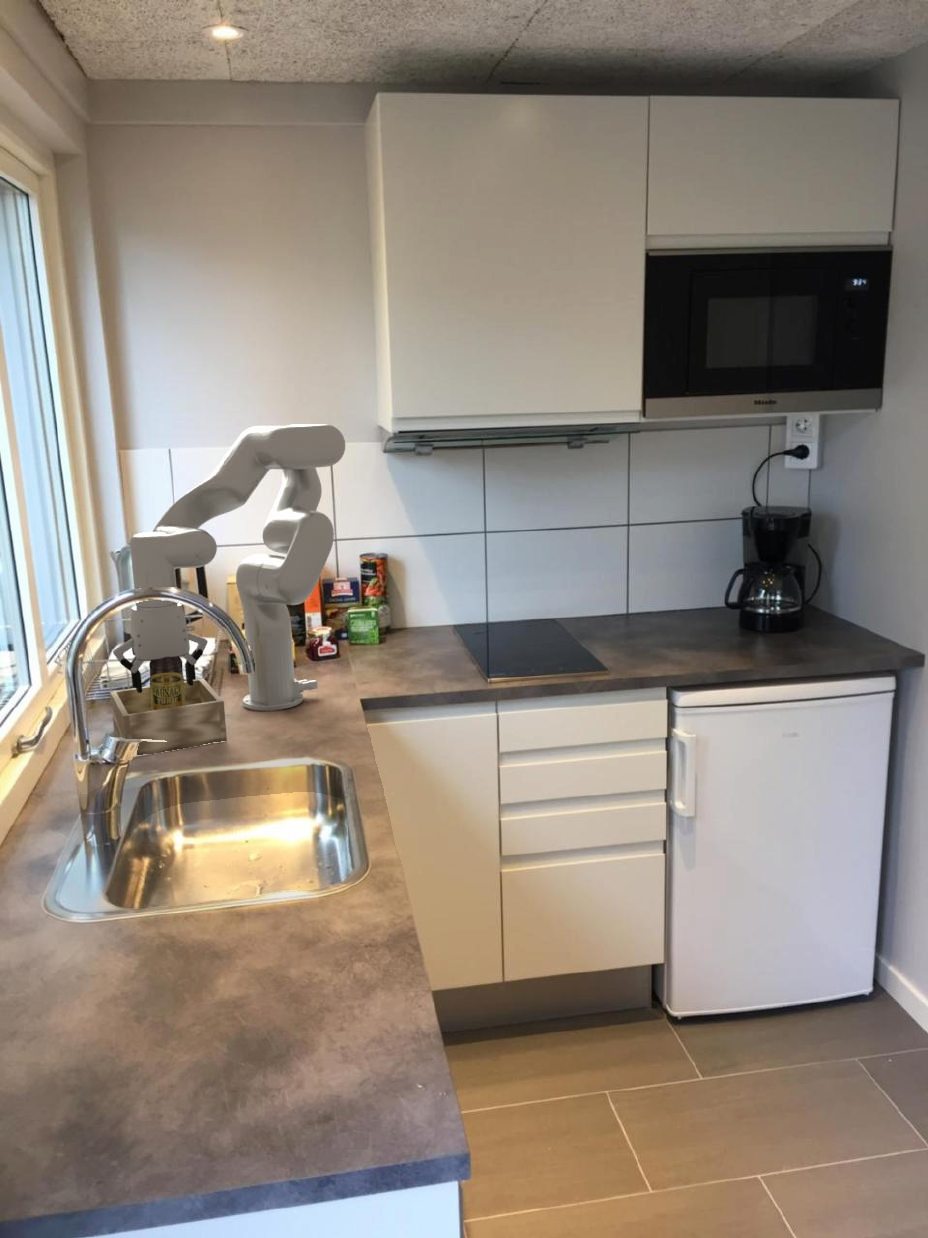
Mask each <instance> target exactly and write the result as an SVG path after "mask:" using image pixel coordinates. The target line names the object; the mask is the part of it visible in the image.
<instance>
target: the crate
mask: <svg viewBox="0 0 928 1238" xmlns="http://www.w3.org/2000/svg"><path fill="white" fill-rule="evenodd" d="M109 694H110V695H109V696H110V704H111V714H112V724H113V730H114V733H115V736H116V737H122V738H125V739H152V740H165V741H167V742H147V741H142V742H140V743H139V746H138V750H137V755H143V754H152V755H155V754H154V753H158V754H162V753H161V752H164V753H166V752H165V751H170V752H173V751H172V750H176V751H178V750H177V749H182V750H184V749H183V748H188V749H190V748H189V747H193V748H195V747H194V746H199V747H201V746H200V745H203V744H208V743H213V742H221V741H227V742H228V739H227V725H226V713H225V711H226V710H225V702H224V699H222V697H221V696H220V695H219V694H218V693H217V692H216V691H215V690H214V689H213V688H212V687H211V685H210V684H209V683H208V682H207V681H206V679H204V678H197V679H196V680H193V685H192V686H190V685H189V684H188V683H187V681H186V680H184V696H185V705H184V706H178V707H171V708H165V709H158V710H152V711H151V694H150V685H148V686H142V692H141V693H138V692H137V690H136V688H133V687H131V688H125V689H120V690H119V689H118V690H112V691H109Z"/></svg>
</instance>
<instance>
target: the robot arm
mask: <svg viewBox="0 0 928 1238" xmlns="http://www.w3.org/2000/svg"><path fill="white" fill-rule="evenodd" d="M345 451H346V440H345V437H344V435H343V433H342V432H341V430H339V428H337V427H336V426H334V425H331V424H327V423H326V424H324V423H322V424H320V423H319V424H318V423H317V424H313V423H311V424H308V423H307V424H302V423H299V424H289V425H258V426H256V425H255V426H251V427H249V428H247V429H245V430H244V431H242V433H241V434H240V435H239V436H238V437H237V438H236V440H235V442H234V443H233V445H231V447H230V448H229V450H228V451H227V452H226V454H225V455H224V456H223V458H222V459H221V461H220V463H219V464H217V466H216V467H215V469H214V470H213V472H211V474H210V475H209V476H208V478H206V479H205V480H203V481H202V482H201V483H199V484H197V485H196V486H195V487H193V488H191V490H189V491H188V492H186V493H185V494H183V496H181V497H179V498H178V499H177V500H176V501H175V502H173V504H172V505H171V506H170V507H169V508H168V509H167V511H166V512H165V513H164V514H163V515H162V517H161V518H160V520H159V521H158V522H157V523H156V525H155V527H154V528H153V530H152V531H149V532H148V531H147V532H141V533H137V534H134V535H133V536H132V537H130V539H129V549H130V560H131V569H132V580H133V589H139V588H146V587H175V588H177V577H176V570H177V569H197V568H202V567H205V566H207V565H208V564H210V563H211V562H212V561H213V559H214V558H215V557H216V555H217V550H218V546H217V542H216V538H214V536H213V535H212V534H211V533H210V532H209V531H207V530H205V529H202V528H200V527H202V526H203V525H204V524H205V523H207V522H209V521H210V520H212V519H214V518H216V517H219V516H222V515H224V514H227V513H230V512H232V511H235V510H237V509H240V508H241V507H242V506H244V505H245V504H246V503H247V502H248V501H249V499H250V497H251V496H252V495H253V493H254V492H255V490H256V489H257V487H258V486H259V485H260V483H261V482H262V480H263V479H264V478H265V476H266V475H267V473H268V472H269V471H271V470H281V473H282V484H281V487H280V489H279V492H278V495H277V497H276V500H275V501H274V504H273V507H272V508H271V510H270V512H269V515H268V518H267V519H266V522H265V524H264V527H263V528H262V529H263V530H262V541H263V543H264V545H265V546H266V548H268V549H269V550H271V551H272V552H275V553H279V554H284V555H286V556H283V555H278V554H276V555H274V554H267V553H256V554H251V555H250V556H248V557H246V558H245V557H244V559H243V560H242V561H240V564H239V565H238V567H237V570H236V575H235V582H236V589H237V592H238V595H239V598H240V604H241V607H242V614H243V622H244V623H243V624H244V637H246V640H247V642H248V644H249V646H250V649H251V651H252V654H253V658H254V663H255V673H254V674H253V675H248V674H247V676H248V678H247V679H248V690H249V694H247V695H245V696H244V697H243V698H242V705H243V707H245V708H246V709H249V710H252V711H261V712H263V711H264V712H266V711H268V712H269V711H279V710H285V709H289V708H293V707H296V706H298V705H300V704H301V703H302V702H303V701H304V694H303V693H304V691H307V690H308V691H311V690H317V689H318V681H317V680H316V679H315V680H308V679H302V680H298V679H296V678H295V670H294V669H295V668H294V667H295V665H294V652H293V651H294V650H293V637H292V635H293V634H292V620H291V615H290V611H289V609H288V606H290V605H291V606H296V605H300V604H302V603H304V602H306V601H307V600H308V599H309V597H310V596H312V593H313V592H314V590H315V587H316V586H317V584H318V582H319V579H320V577H321V574H322V572H323V570H324V568H325V565H326V562H327V560H328V558H329V556H330V553H331V551H332V548H333V544H334V541H335V539H334V537H335V536H334V535H335V533H334V527H333V526H334V525H333V523H332V521H331V519H330V517H328V516H327V515H326V514H325V513H323V512H321V511H318V506H319V503H320V501H321V497H322V493H323V492H322V484H321V483H322V482H321V480H320V477H319V474H318V470H317V468H325V467H326V468H327V467H331V466H334V465H336V464H337V463H339V462H340V461H341V459H342V458H343V457H344V454H345ZM180 603H181V602H179V603H175V602H170V601H161V600H153V601H143V602H139V603H136V602H135V606H132V607H131V612H130V638H129V639H128V640H127V641H125V642H124V643H123V644H121V645H119V646H118V647H116V648H115V649H114V650H113V651H112V653H113V655H114V656H115V657H116V659H117V661H118V662H119V663H120V665H122V666H123V667H124V668H125V669H127V670H128V671H130V675H131V677H130V678H131V687H132V688H136V690H137V692H138V693H141V692H142V687H143V685H142V675H141V671H140V668H141V666H142V665H143V663H144V662H150V661H152V660H159V659H161V658H164V657H180V658H181V657H183V658H184V659H185V663H184V668H185V670H184V671H185V681H187V683H188V684H189V685H190V686H192V685H193V680H196V678H197V677H196V666H195V665H196V664H197V662H198V660H199V659H200V658H201V657H202V656H203V654H204V651H205V649H206V647H207V645H208V640H207V638H204V637H202V636H199V635H196V634H195V633H192V632H189V630H188V626H187V621H186V617H185V612H184V608H183V604H182V603H181V604H180ZM287 605H288V606H287ZM246 640H245V641H246ZM190 641H191V642H194V643H196V644H197V646H196V648H195V649H194V650H193V652H192V653H190V648H191V647H190V646H191V645H190ZM130 649H131V652H132V655H133V656H134V657H133V658H132V660H131V661H130V660H128V659H127V658H126V657H125V656H124V654H125V653H126V652H128V651H129V650H130Z"/></svg>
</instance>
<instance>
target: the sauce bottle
mask: <svg viewBox="0 0 928 1238" xmlns="http://www.w3.org/2000/svg"><path fill="white" fill-rule="evenodd" d="M148 666H149V686H150V694H151V711H152V710H158V709H165V708H171V707H178V706H184V705H185V696H184V681H185V680H184V672H183V669H184V668H183V660H182V658H181V657H164V658H161V659H159V660H152V661H149V664H148Z"/></svg>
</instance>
